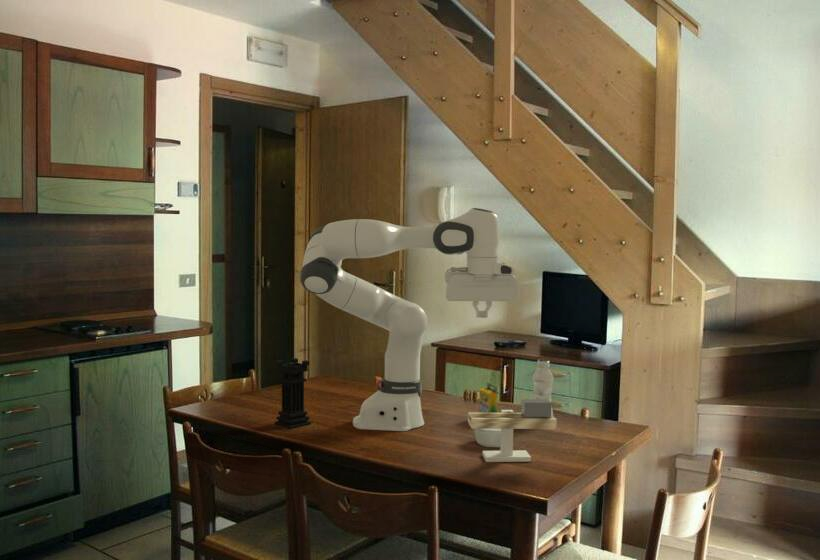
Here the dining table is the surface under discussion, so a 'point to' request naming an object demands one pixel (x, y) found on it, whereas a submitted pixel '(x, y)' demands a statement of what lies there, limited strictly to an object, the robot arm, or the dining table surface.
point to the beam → (509, 421)
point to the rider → (535, 408)
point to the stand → (506, 449)
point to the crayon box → (488, 399)
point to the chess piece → (292, 394)
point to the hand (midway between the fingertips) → (481, 317)
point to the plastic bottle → (543, 381)
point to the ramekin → (488, 437)
